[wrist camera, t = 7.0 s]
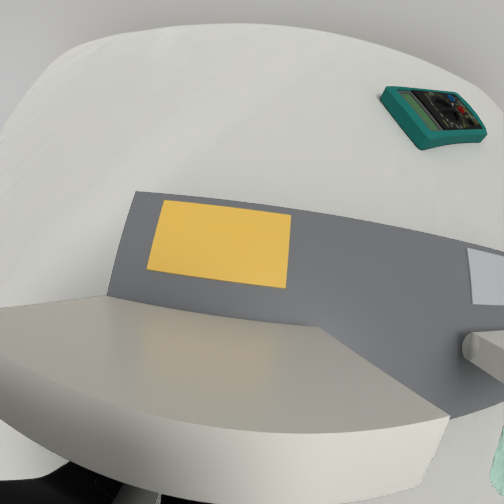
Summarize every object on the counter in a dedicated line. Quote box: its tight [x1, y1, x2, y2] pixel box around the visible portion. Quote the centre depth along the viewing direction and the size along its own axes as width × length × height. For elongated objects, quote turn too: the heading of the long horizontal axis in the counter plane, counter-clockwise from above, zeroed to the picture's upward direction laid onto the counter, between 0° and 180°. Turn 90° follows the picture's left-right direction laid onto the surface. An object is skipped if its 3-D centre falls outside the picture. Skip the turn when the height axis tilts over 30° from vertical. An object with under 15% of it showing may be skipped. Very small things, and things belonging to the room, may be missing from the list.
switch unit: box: [107, 191, 504, 419], centre depth 14 cm, size 12×31×3 cm, turn 83°
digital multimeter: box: [380, 86, 487, 150], centre depth 23 cm, size 7×15×3 cm, turn 110°
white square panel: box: [0, 295, 450, 504], centre depth 8 cm, size 2×10×10 cm, turn 83°
